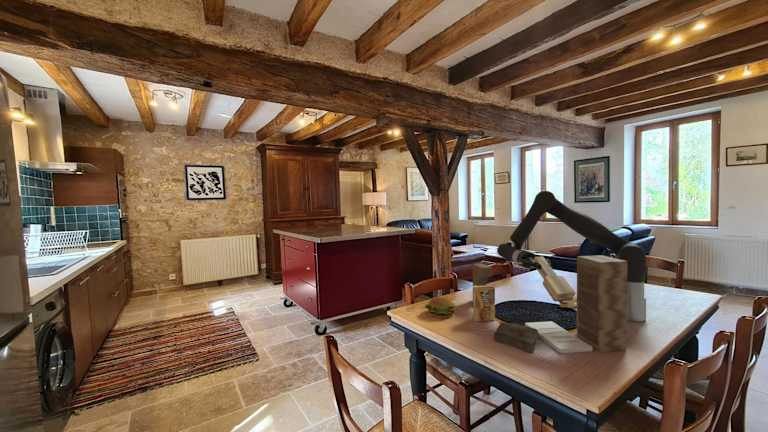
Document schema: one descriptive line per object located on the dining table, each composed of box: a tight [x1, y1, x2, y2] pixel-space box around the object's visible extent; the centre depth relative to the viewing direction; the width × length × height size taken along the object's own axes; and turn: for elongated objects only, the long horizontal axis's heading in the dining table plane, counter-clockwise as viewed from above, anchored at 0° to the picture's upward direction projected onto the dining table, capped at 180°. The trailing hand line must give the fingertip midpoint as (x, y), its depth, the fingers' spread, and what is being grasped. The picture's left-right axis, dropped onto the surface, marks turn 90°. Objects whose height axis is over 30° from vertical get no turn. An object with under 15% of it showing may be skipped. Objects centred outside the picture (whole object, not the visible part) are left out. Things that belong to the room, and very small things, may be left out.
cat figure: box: [557, 295, 577, 309], centre depth 160 cm, size 10×9×25 cm
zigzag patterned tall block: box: [576, 254, 628, 353], centre depth 117 cm, size 10×12×32 cm
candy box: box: [472, 284, 496, 322], centre depth 144 cm, size 9×4×15 cm, turn 92°
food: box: [424, 296, 456, 319], centre depth 153 cm, size 14×14×8 cm
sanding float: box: [533, 255, 577, 302], centre depth 126 cm, size 7×21×4 cm
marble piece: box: [493, 322, 538, 354], centre depth 123 cm, size 17×15×4 cm
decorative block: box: [472, 263, 493, 287], centre depth 167 cm, size 11×6×20 cm, turn 12°
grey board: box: [524, 320, 593, 354], centre depth 124 cm, size 12×24×2 cm, turn 4°
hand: (545, 266), depth 129 cm, fingers closed on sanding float, 3 cm apart
